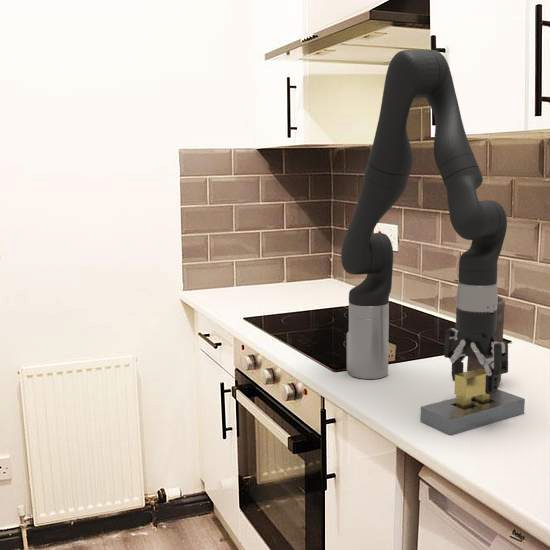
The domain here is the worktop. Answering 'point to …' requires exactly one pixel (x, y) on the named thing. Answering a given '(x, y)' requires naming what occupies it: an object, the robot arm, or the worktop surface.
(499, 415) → the grey slotted base
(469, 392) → the yellow block
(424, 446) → the worktop surface
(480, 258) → the robot arm
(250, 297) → the worktop surface
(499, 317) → the brown cylinder
